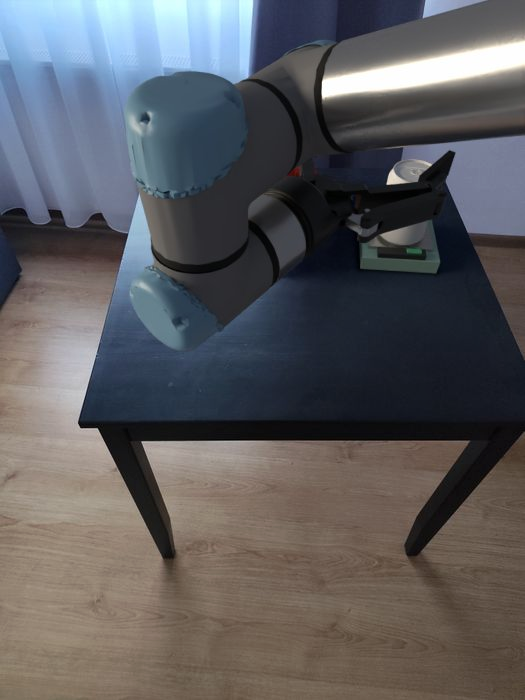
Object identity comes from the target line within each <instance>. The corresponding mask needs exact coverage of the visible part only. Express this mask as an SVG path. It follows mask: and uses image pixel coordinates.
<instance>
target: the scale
mask: <svg viewBox="0 0 525 700" xmlns="http://www.w3.org/2000/svg"><path fill="white" fill-rule="evenodd" d="M428 224H429V229H430V235H431V240H432V245H433V252H426V250H425V249H410V248H393V247H378V249H369V248H368V242H367V243H360V242H359V241H358V243H359V267H360V268H359V269H360V270H374V271H375V270H376V271H390V272H391V271H392V272H407V273H423V274H437V273H438V269H439V267H440V264H441V259H440V253H439V249H438V245H437V239H436V235H435V234H436V233H435V230H434V224H433V219H432V220H428Z"/></svg>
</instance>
